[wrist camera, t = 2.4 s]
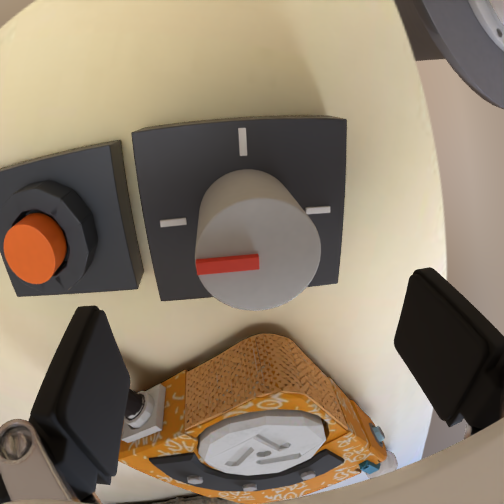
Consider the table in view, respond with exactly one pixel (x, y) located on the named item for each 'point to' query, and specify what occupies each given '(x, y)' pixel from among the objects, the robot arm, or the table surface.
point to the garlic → (385, 466)
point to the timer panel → (228, 160)
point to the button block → (76, 218)
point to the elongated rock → (198, 500)
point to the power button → (35, 248)
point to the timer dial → (254, 242)
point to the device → (250, 426)
